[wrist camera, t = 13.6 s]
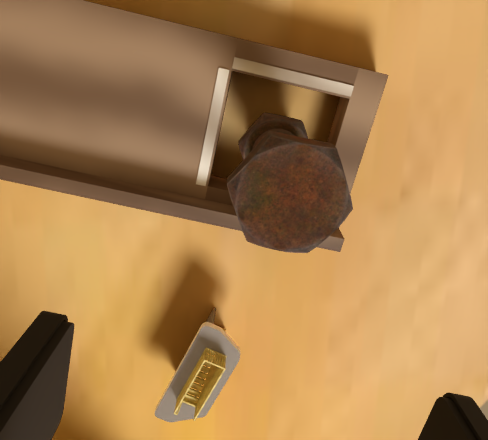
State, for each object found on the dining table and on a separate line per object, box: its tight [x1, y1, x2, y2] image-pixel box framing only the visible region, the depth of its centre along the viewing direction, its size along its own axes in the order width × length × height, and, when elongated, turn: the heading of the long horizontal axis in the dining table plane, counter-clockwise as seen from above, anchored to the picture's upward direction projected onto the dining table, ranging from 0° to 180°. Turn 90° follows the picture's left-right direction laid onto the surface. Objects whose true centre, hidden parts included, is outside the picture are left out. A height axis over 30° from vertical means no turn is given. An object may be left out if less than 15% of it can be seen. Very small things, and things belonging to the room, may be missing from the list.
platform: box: [155, 308, 240, 422], centre depth 38 cm, size 12×18×6 cm, turn 153°
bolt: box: [227, 113, 353, 253], centre depth 27 cm, size 6×5×15 cm
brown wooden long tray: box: [0, 0, 388, 252], centre depth 31 cm, size 12×30×5 cm, turn 77°
